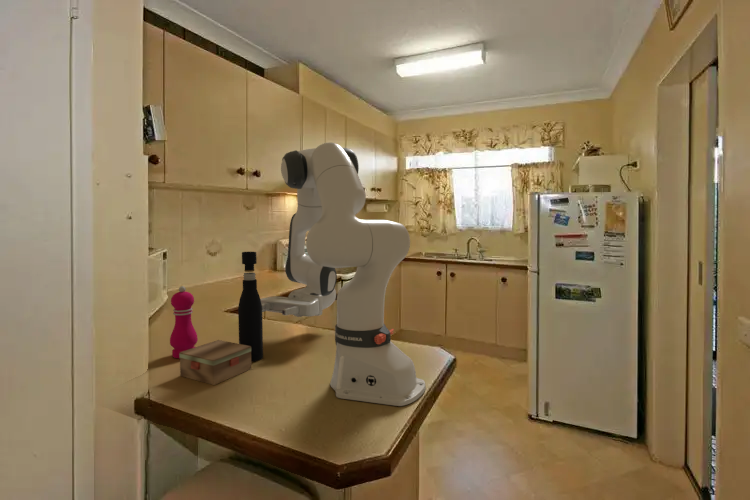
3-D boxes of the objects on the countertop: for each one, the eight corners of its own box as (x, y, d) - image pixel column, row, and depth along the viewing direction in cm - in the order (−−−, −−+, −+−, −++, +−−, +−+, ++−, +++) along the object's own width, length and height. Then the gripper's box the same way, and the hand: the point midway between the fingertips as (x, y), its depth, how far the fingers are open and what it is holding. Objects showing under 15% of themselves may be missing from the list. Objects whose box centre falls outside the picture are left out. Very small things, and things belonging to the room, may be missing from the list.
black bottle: (267, 356, 116) (266, 251, 114) (252, 363, 110) (250, 253, 108) (250, 353, 119) (248, 250, 117) (234, 360, 113) (231, 252, 111)
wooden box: (253, 369, 106) (252, 346, 106) (213, 386, 95) (213, 361, 95) (219, 361, 112) (218, 339, 112) (178, 376, 101) (177, 353, 101)
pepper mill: (187, 360, 113) (185, 288, 112) (164, 358, 115) (162, 287, 113) (203, 351, 120) (201, 284, 119) (181, 350, 122) (179, 283, 120)
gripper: (276, 290, 138) (245, 297, 126) (326, 295, 129) (298, 303, 116) (276, 308, 138) (246, 317, 126) (326, 315, 129) (298, 325, 117)
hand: (271, 310), depth 121 cm, fingers open, 8 cm apart
